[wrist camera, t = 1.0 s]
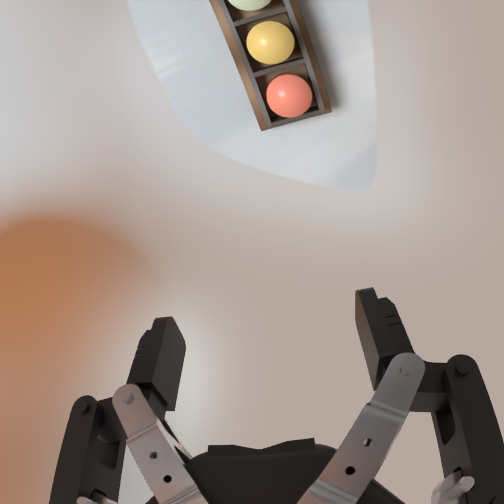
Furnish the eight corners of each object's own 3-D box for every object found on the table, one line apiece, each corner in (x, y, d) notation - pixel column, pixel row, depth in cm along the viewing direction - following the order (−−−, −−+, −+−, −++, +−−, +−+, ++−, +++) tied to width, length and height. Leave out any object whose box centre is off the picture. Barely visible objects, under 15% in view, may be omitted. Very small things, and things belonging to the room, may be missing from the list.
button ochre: (241, 29, 20) (239, 29, 19) (284, 16, 19) (285, 15, 18) (255, 67, 22) (255, 69, 21) (297, 55, 21) (300, 57, 20)
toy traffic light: (202, -20, 19) (195, -26, 16) (275, -42, 18) (278, -51, 15) (261, 124, 28) (261, 137, 26) (327, 106, 27) (335, 117, 24)
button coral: (260, 79, 23) (260, 82, 21) (302, 67, 22) (304, 70, 21) (273, 117, 25) (274, 122, 23) (313, 106, 24) (317, 111, 23)
